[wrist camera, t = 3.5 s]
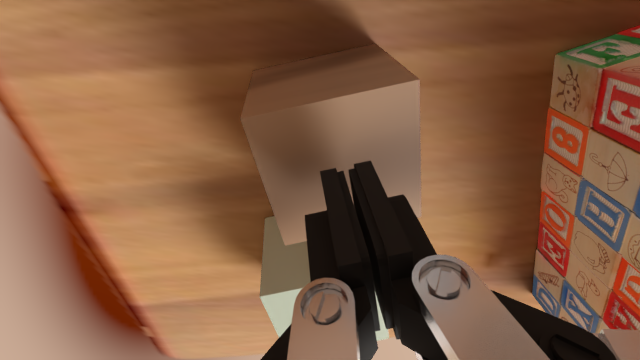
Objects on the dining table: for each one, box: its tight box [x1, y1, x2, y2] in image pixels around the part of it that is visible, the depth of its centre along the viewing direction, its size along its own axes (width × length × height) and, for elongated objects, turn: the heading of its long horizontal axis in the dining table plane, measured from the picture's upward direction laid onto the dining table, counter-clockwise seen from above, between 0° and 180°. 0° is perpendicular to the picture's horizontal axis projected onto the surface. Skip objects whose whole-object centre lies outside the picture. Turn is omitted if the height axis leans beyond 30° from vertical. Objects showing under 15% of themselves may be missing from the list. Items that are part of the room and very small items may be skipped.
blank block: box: [240, 44, 421, 245], centre depth 15 cm, size 6×6×6 cm
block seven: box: [260, 216, 389, 341], centre depth 20 cm, size 6×6×6 cm
